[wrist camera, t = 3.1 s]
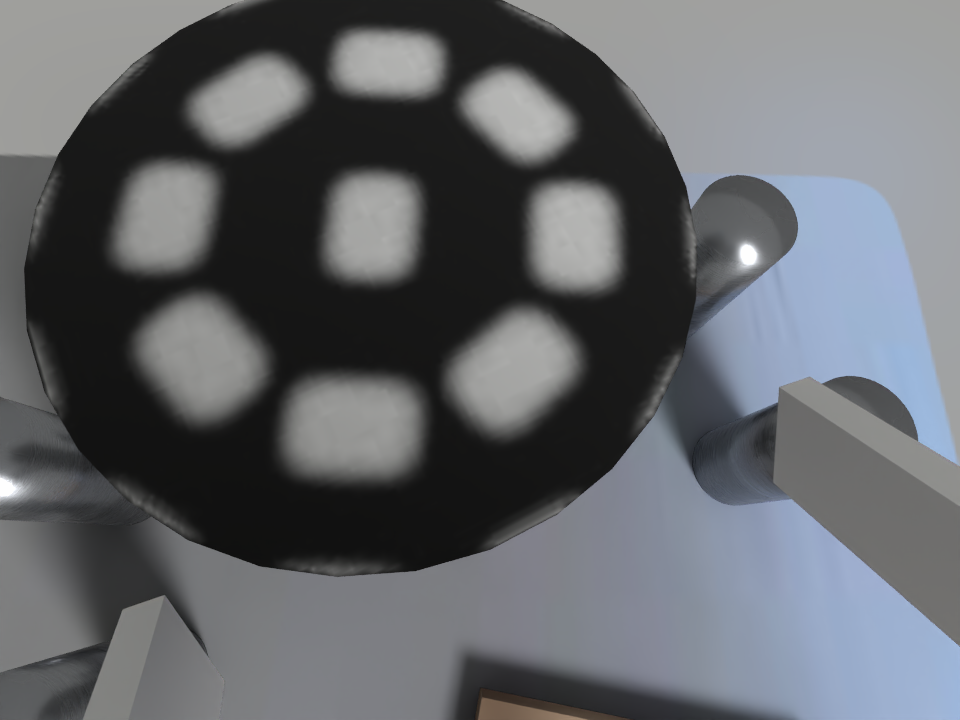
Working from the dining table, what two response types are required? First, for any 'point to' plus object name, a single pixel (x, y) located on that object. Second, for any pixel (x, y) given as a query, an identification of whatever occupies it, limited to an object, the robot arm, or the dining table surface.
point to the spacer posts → (716, 459)
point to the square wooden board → (529, 709)
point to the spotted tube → (360, 280)
